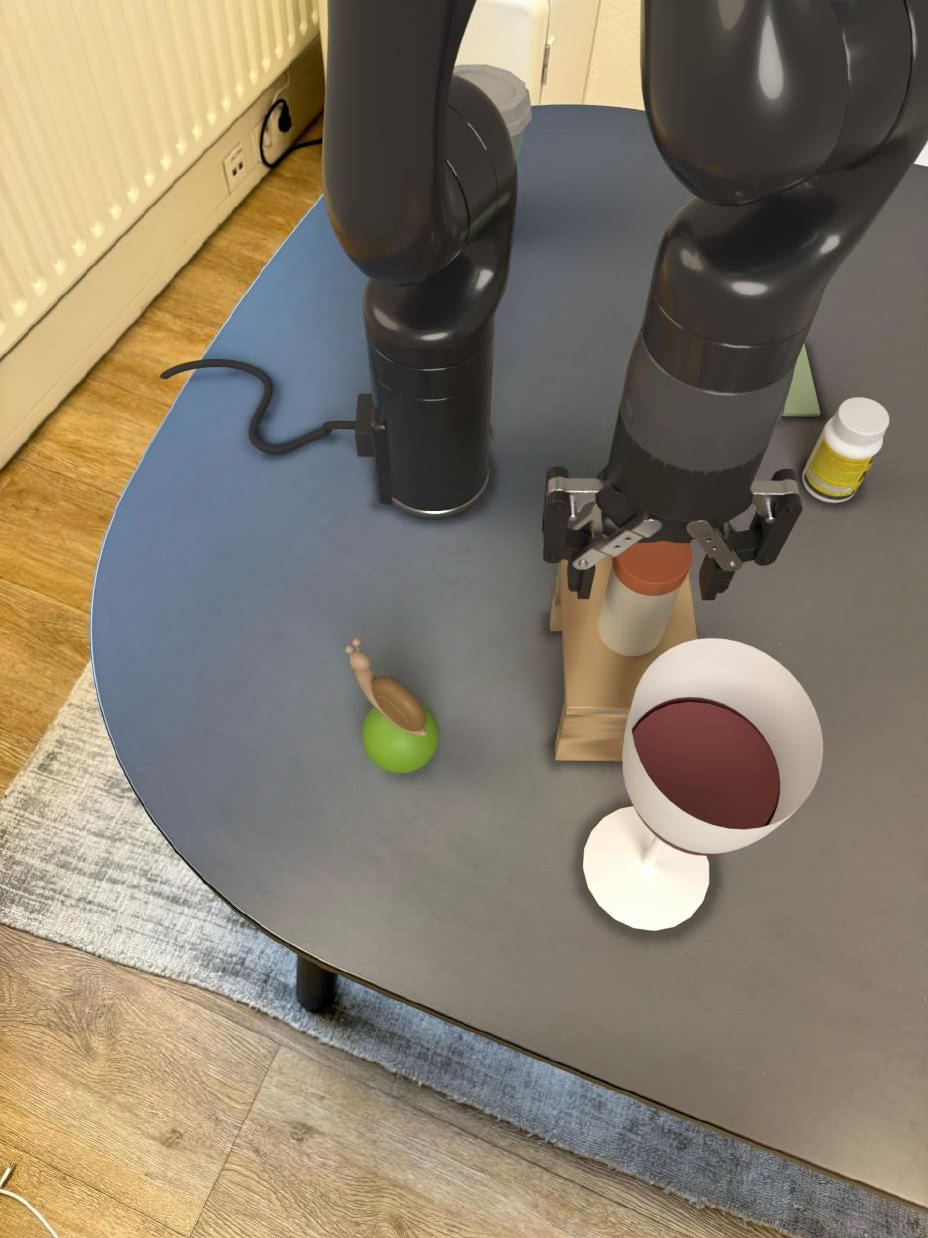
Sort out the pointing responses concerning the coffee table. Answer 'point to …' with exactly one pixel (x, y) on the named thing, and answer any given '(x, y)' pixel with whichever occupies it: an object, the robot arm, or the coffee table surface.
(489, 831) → the coffee table surface
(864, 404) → the supplement bottle
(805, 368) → the mat
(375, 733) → the snail figurine
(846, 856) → the coffee table surface
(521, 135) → the disposable coffee cup
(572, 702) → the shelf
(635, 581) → the spice bottle
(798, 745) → the wineglass
